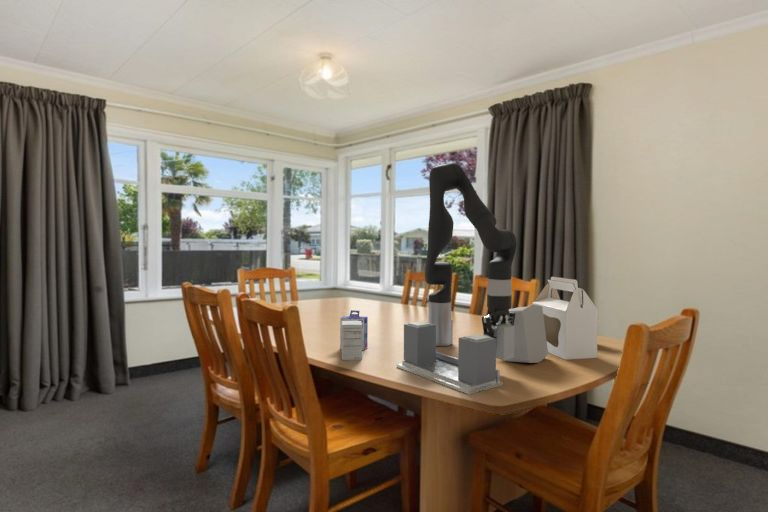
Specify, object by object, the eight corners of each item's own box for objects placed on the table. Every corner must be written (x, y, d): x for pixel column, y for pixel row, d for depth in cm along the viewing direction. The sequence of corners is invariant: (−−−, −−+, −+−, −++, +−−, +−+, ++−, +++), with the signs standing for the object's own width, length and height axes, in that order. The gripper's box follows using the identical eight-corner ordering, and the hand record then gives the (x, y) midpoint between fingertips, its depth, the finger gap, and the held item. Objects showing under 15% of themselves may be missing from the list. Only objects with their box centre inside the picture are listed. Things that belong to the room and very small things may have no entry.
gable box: (531, 345, 177) (532, 276, 176) (560, 344, 180) (561, 275, 179) (565, 360, 155) (566, 281, 154) (597, 358, 158) (599, 280, 157)
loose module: (493, 351, 144) (493, 320, 143) (513, 357, 137) (514, 324, 137) (483, 354, 141) (483, 322, 140) (503, 360, 134) (504, 326, 134)
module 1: (421, 356, 152) (422, 320, 151) (435, 360, 146) (436, 323, 146) (403, 359, 147) (403, 323, 147) (417, 364, 141) (417, 326, 141)
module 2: (477, 374, 132) (477, 333, 131) (495, 380, 126) (496, 337, 126) (458, 379, 127) (458, 336, 127) (476, 385, 121) (477, 340, 121)
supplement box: (341, 355, 161) (341, 320, 160) (361, 354, 161) (361, 320, 161) (341, 360, 153) (341, 324, 153) (362, 360, 154) (362, 324, 154)
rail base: (428, 360, 154) (428, 349, 154) (502, 385, 128) (502, 371, 128) (396, 367, 145) (396, 355, 145) (469, 394, 120) (469, 380, 119)
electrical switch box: (511, 356, 168) (505, 304, 169) (548, 358, 157) (541, 302, 158) (490, 364, 157) (483, 308, 159) (529, 366, 147) (521, 306, 148)
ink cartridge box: (368, 347, 173) (368, 310, 172) (364, 350, 167) (364, 312, 167) (343, 345, 175) (344, 309, 174) (339, 349, 169) (339, 311, 169)
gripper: (504, 290, 145) (503, 341, 146) (474, 293, 137) (473, 347, 138) (523, 292, 139) (522, 345, 140) (494, 296, 131) (493, 353, 132)
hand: (498, 346), depth 139 cm, fingers closed on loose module, 5 cm apart
